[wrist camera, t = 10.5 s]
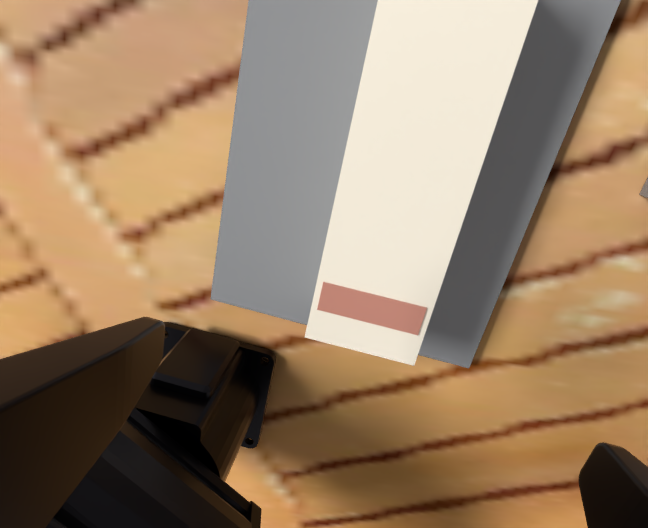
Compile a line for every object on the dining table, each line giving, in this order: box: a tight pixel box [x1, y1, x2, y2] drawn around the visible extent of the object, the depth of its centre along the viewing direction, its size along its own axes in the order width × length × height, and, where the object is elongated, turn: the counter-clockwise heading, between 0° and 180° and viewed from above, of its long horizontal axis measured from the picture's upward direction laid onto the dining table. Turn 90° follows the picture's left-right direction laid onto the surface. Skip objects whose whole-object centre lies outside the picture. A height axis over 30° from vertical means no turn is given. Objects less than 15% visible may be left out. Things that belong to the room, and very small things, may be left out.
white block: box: [305, 0, 538, 366], centre depth 17 cm, size 14×4×4 cm, turn 168°
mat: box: [211, 0, 621, 368], centre depth 19 cm, size 17×13×1 cm
